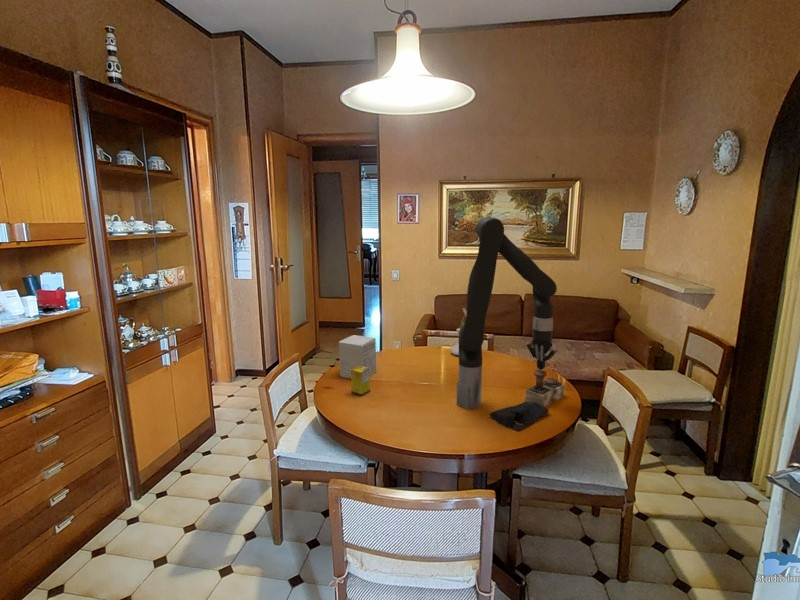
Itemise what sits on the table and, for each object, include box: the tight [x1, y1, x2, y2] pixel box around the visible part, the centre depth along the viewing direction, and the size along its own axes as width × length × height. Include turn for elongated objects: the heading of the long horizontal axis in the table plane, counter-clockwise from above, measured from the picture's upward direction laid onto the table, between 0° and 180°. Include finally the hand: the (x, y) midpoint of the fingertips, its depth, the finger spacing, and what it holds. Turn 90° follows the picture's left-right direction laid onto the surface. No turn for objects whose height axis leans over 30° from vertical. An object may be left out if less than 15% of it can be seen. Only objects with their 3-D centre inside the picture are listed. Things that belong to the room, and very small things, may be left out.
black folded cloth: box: [489, 401, 550, 432], centre depth 166 cm, size 15×22×5 cm
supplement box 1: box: [338, 334, 377, 379], centre depth 209 cm, size 13×13×18 cm
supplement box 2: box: [350, 366, 371, 397], centre depth 189 cm, size 6×6×11 cm
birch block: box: [524, 380, 566, 407], centre depth 180 cm, size 16×8×6 cm, turn 130°
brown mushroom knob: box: [545, 377, 559, 385], centre depth 183 cm, size 5×5×6 cm
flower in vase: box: [449, 307, 467, 356], centre depth 235 cm, size 13×11×25 cm
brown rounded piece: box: [533, 369, 548, 388], centre depth 176 cm, size 5×5×6 cm
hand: (540, 368), depth 175 cm, fingers closed
